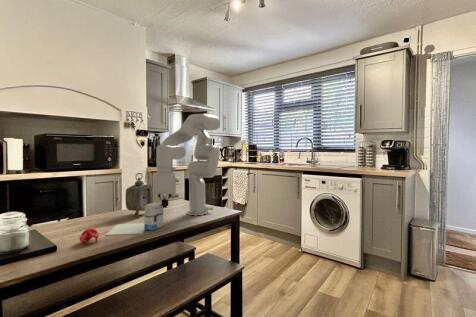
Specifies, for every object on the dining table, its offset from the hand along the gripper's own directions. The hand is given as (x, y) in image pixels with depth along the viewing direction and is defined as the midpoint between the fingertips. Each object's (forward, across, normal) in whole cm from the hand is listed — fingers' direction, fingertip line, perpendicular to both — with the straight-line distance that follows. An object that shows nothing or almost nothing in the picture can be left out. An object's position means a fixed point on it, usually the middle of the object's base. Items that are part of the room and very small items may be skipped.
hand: (165, 207), depth 126 cm
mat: (+10, +17, 0) cm, 20 cm away
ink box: (+10, +6, 0) cm, 12 cm away
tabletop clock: (+10, +18, -27) cm, 35 cm away
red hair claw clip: (+11, +29, +16) cm, 34 cm away
